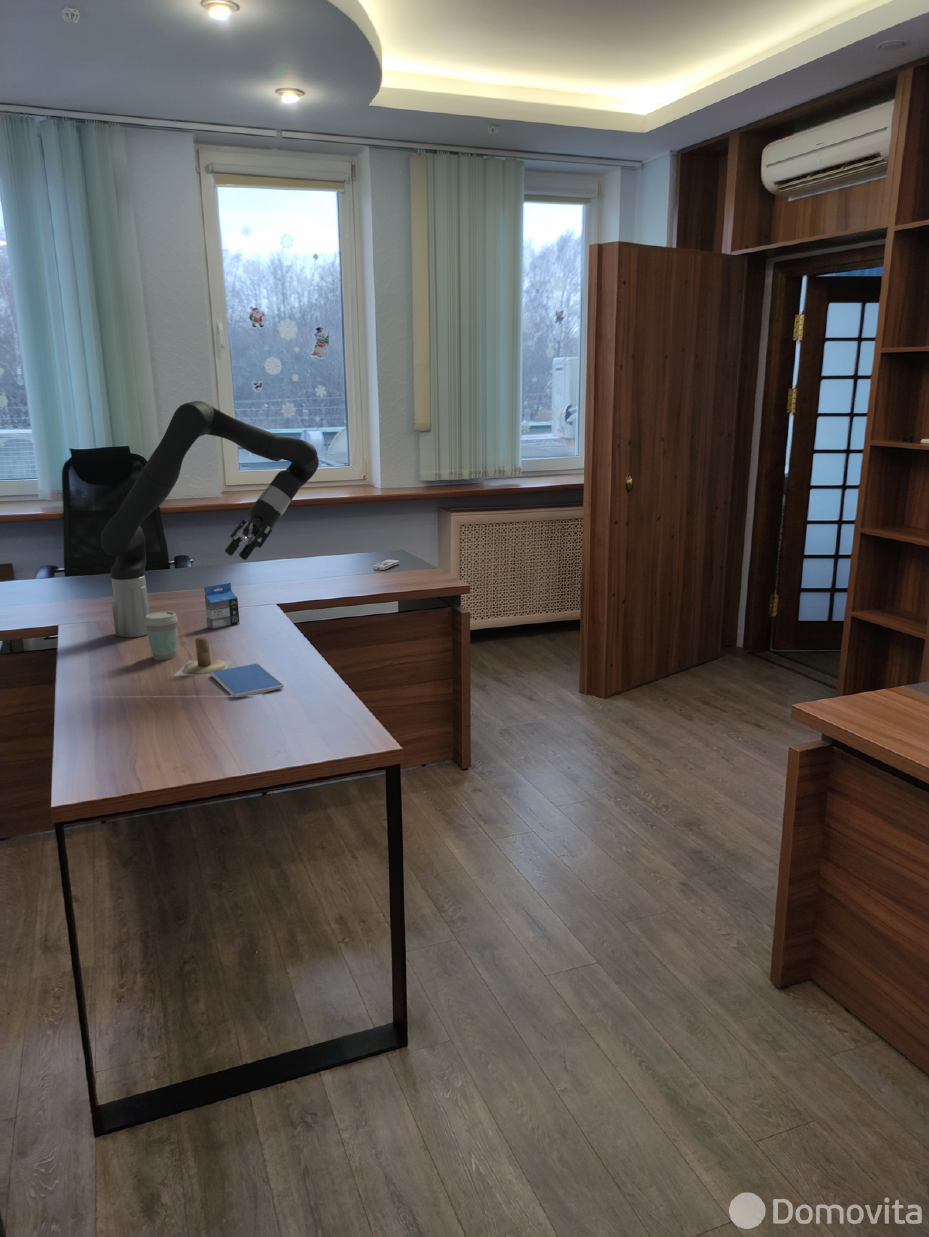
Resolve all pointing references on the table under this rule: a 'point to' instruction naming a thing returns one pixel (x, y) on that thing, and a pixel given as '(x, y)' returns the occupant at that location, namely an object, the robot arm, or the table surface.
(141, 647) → the table surface
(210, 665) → the lid
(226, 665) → the coaster
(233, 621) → the ink cartridge box
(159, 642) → the coffee cup
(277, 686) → the tablet computer
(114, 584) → the robot arm
